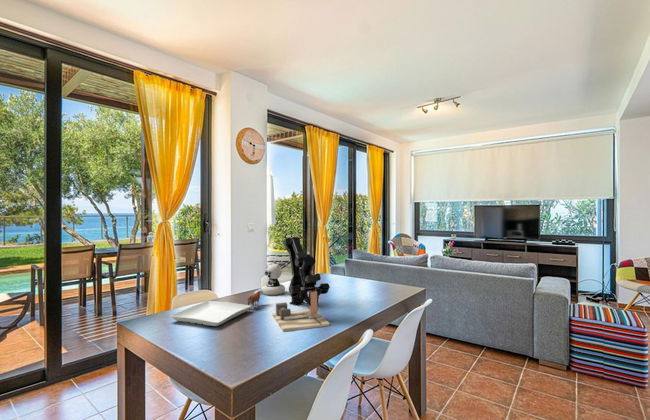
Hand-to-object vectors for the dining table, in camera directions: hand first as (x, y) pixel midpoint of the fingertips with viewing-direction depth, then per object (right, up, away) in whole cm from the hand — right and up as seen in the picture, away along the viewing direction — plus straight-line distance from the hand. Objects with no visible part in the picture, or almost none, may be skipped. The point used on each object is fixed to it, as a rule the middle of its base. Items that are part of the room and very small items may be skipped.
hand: (313, 305), depth 155 cm
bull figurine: (-32, -7, +22) cm, 40 cm away
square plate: (-49, -7, +5) cm, 50 cm away
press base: (-7, -7, -1) cm, 9 cm away
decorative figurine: (-27, -7, +50) cm, 58 cm away
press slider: (-6, -5, -1) cm, 8 cm away
